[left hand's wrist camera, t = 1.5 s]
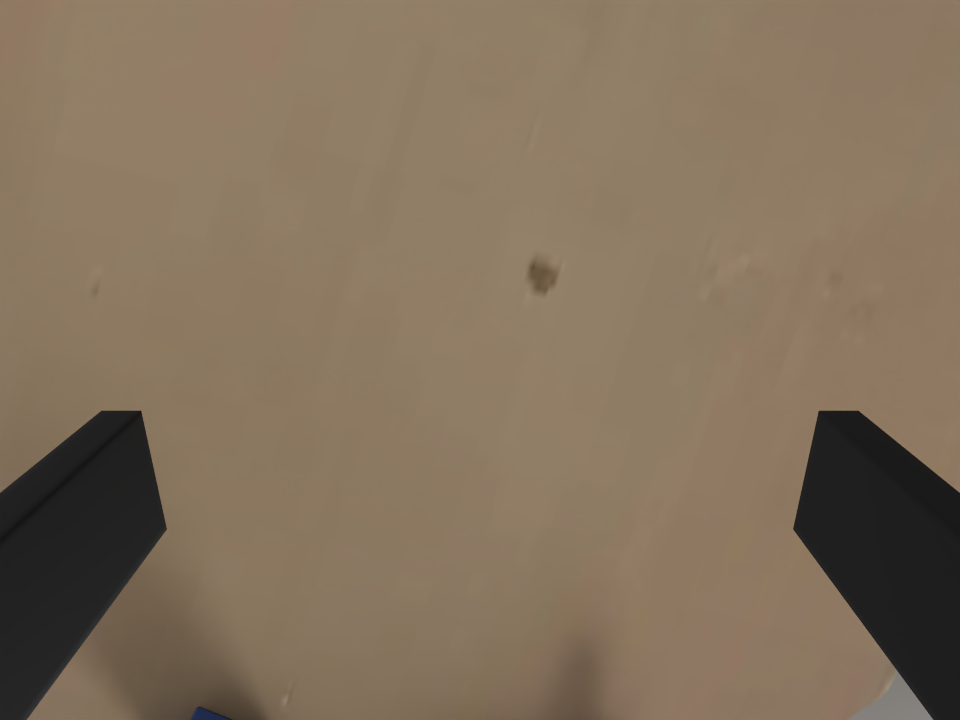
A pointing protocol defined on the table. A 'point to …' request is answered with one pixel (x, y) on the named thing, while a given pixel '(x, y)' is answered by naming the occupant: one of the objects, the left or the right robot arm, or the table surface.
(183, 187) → the table surface
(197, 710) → the block
